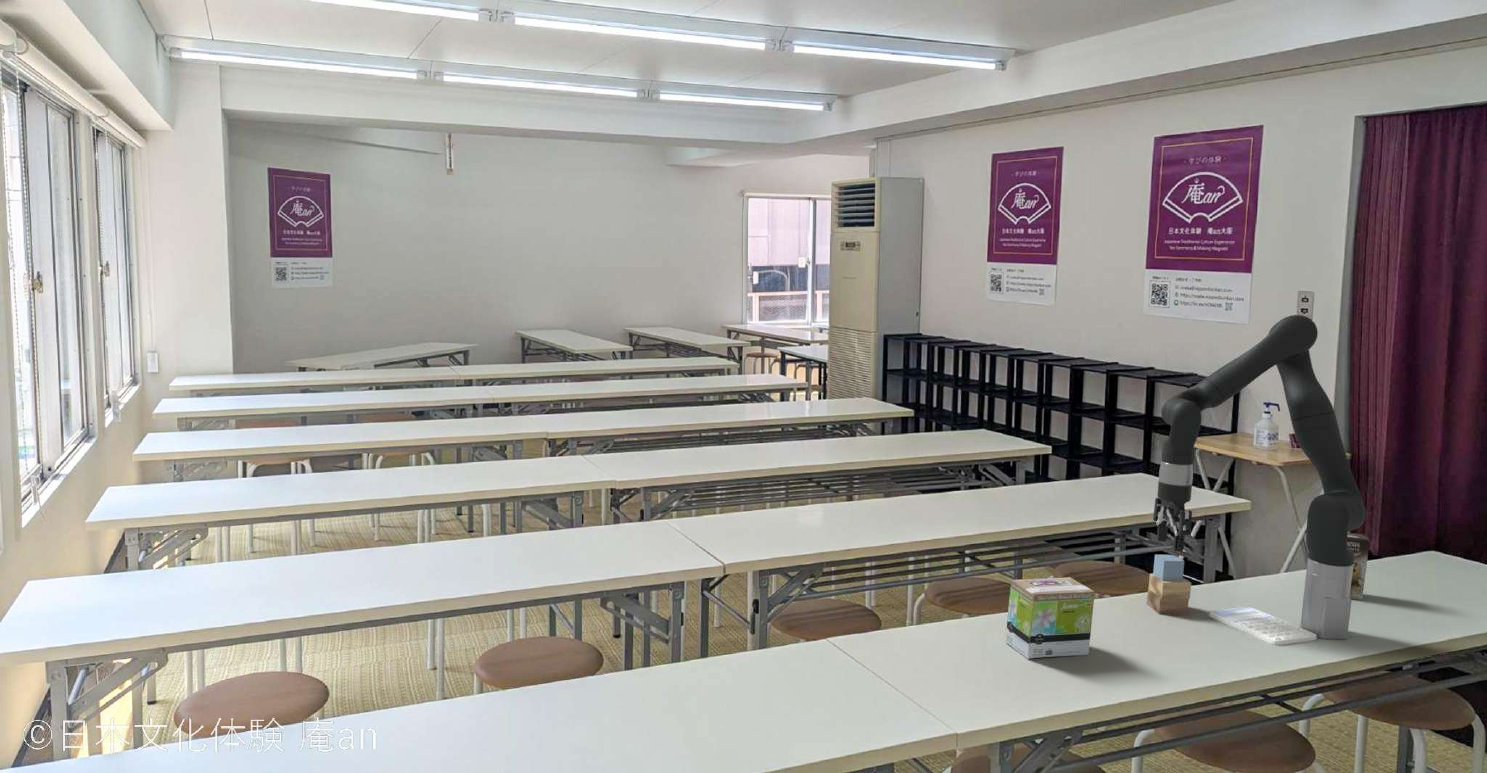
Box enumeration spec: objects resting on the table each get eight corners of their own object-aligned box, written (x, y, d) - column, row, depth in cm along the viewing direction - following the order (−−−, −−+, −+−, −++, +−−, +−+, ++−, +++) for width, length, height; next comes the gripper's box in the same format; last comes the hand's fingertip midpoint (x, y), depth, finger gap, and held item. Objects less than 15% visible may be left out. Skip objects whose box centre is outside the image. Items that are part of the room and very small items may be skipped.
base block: (1187, 614, 250) (1188, 598, 250) (1159, 614, 250) (1160, 598, 249) (1174, 604, 257) (1175, 589, 257) (1146, 604, 257) (1148, 588, 256)
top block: (1189, 598, 250) (1191, 582, 249) (1161, 598, 249) (1163, 582, 249) (1175, 589, 257) (1177, 573, 256) (1148, 588, 256) (1149, 573, 256)
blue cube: (1182, 580, 251) (1184, 561, 250) (1162, 580, 250) (1164, 560, 250) (1172, 574, 255) (1174, 554, 255) (1153, 574, 255) (1154, 554, 254)
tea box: (1028, 660, 218) (1033, 593, 216) (1004, 642, 228) (1009, 578, 226) (1090, 655, 222) (1096, 589, 220) (1064, 638, 232) (1069, 574, 230)
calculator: (1274, 648, 232) (1275, 639, 231) (1206, 617, 250) (1207, 609, 250) (1318, 641, 236) (1319, 633, 236) (1248, 611, 255) (1248, 604, 255)
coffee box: (1323, 595, 267) (1330, 535, 265) (1317, 588, 274) (1324, 529, 271) (1363, 600, 265) (1370, 539, 263) (1356, 592, 271) (1363, 533, 269)
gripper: (1205, 487, 243) (1199, 554, 245) (1176, 474, 257) (1170, 537, 259) (1174, 487, 242) (1168, 554, 244) (1146, 474, 256) (1141, 537, 258)
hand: (1169, 545), depth 252 cm, fingers open, 8 cm apart
